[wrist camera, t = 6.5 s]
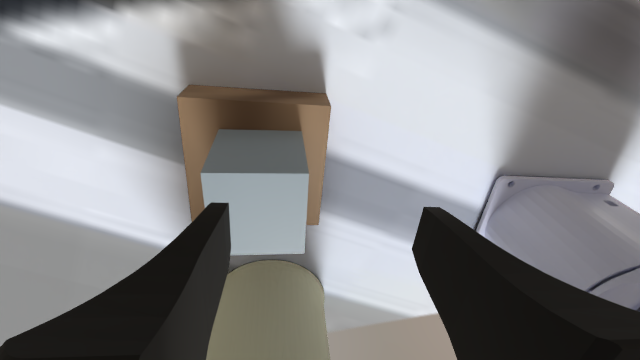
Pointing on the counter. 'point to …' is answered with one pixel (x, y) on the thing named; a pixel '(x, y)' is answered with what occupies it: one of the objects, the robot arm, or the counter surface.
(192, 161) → the slab
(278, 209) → the block
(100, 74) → the counter surface
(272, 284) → the can
